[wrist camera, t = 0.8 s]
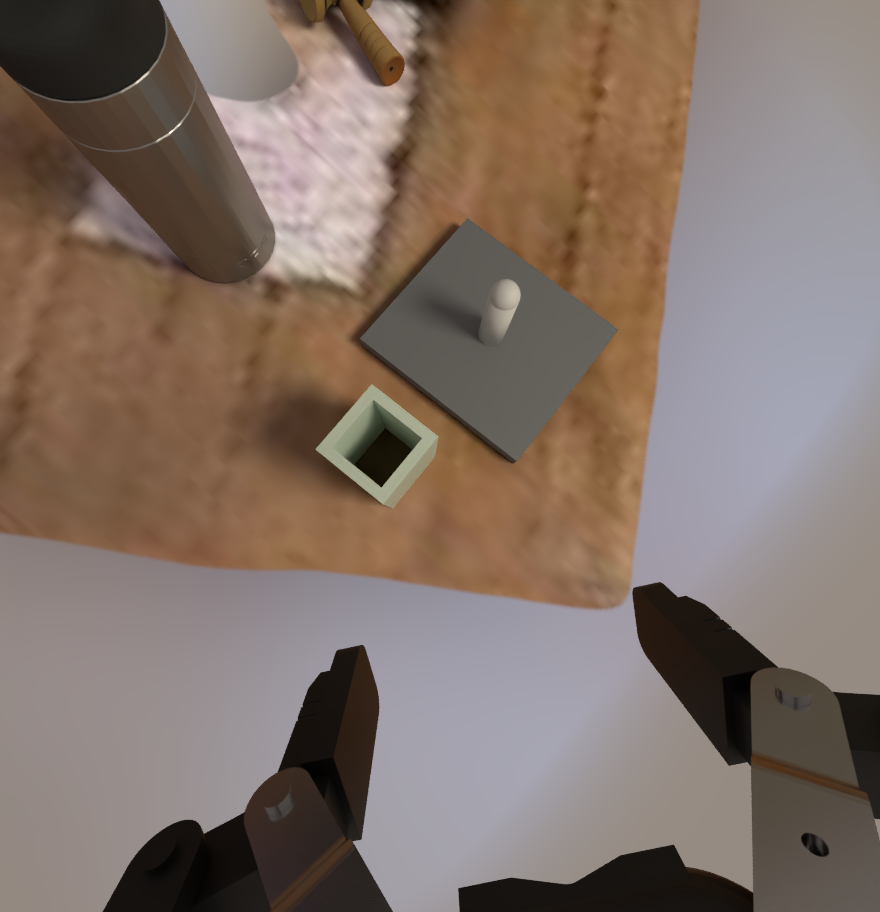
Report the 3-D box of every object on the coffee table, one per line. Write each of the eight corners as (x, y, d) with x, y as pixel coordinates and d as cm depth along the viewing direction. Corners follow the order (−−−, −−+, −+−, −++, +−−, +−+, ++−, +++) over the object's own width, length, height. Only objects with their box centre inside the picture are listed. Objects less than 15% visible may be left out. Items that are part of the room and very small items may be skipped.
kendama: (427, 76, 46) (331, -63, 45) (423, 19, 39) (312, -143, 39) (371, 120, 46) (276, -17, 45) (359, 71, 40) (247, -89, 39)
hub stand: (362, 345, 39) (343, 292, 30) (465, 229, 41) (477, 146, 32) (513, 463, 38) (541, 445, 29) (611, 336, 40) (666, 282, 31)
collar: (341, 466, 37) (315, 449, 28) (384, 416, 38) (371, 384, 29) (392, 508, 37) (383, 504, 28) (434, 456, 37) (438, 436, 29)
